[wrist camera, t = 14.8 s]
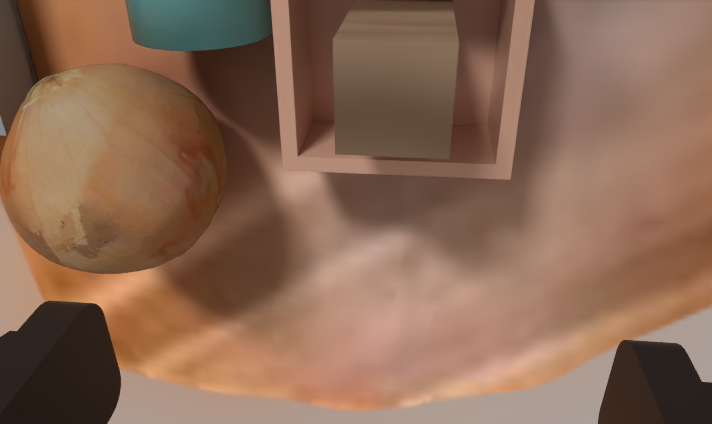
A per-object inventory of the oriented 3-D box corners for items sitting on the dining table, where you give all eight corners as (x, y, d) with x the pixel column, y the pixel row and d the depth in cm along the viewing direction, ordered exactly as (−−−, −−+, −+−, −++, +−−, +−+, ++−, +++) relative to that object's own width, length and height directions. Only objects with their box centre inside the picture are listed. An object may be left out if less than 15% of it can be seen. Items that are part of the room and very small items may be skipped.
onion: (152, -5, 29) (33, 50, 20) (288, 151, 32) (236, 256, 23) (34, 108, 32) (-109, 196, 24) (167, 237, 36) (83, 356, 27)
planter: (292, -87, 26) (264, -77, 22) (525, -86, 25) (545, -77, 21) (303, 128, 31) (283, 170, 27) (499, 135, 30) (510, 179, 26)
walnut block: (360, -11, 27) (332, 39, 19) (450, -9, 27) (459, 43, 19) (360, 77, 29) (335, 154, 21) (444, 79, 29) (449, 159, 21)
